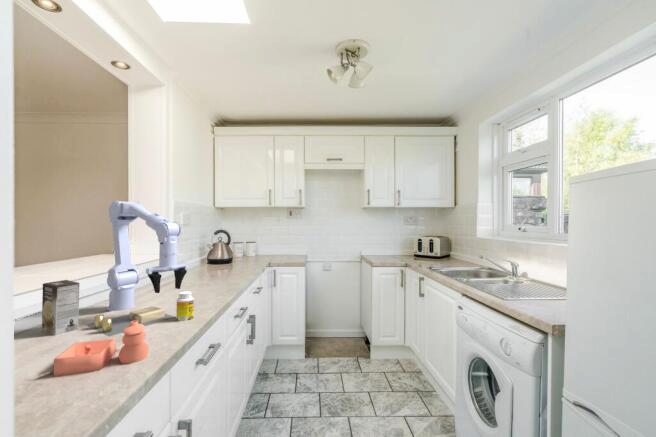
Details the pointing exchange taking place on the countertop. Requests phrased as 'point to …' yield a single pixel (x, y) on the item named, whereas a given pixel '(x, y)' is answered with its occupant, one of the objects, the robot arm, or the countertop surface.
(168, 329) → the countertop surface
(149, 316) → the cream beveled panel
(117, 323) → the board
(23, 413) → the countertop surface
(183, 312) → the supplement bottle
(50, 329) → the coffee box
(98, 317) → the bench dogs
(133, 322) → the pottery
